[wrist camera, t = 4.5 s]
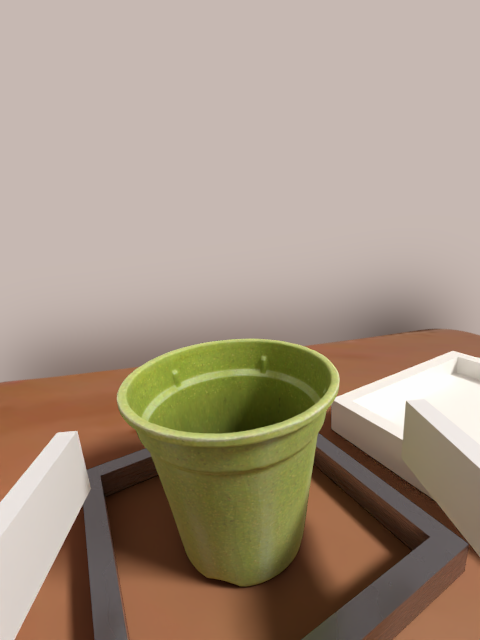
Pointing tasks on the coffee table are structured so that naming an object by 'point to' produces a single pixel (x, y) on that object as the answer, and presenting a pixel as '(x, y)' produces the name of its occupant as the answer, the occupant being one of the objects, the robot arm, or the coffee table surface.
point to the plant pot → (234, 447)
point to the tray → (389, 407)
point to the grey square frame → (354, 617)
